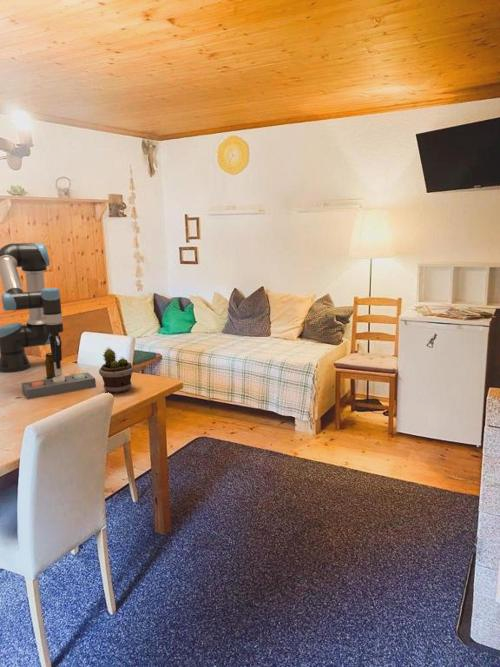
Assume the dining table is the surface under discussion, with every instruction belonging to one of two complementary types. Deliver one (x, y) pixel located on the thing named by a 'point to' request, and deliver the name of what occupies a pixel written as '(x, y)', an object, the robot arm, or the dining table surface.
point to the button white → (58, 379)
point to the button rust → (37, 383)
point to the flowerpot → (116, 373)
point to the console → (58, 386)
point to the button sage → (79, 376)
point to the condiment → (49, 366)
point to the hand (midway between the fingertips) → (58, 375)
